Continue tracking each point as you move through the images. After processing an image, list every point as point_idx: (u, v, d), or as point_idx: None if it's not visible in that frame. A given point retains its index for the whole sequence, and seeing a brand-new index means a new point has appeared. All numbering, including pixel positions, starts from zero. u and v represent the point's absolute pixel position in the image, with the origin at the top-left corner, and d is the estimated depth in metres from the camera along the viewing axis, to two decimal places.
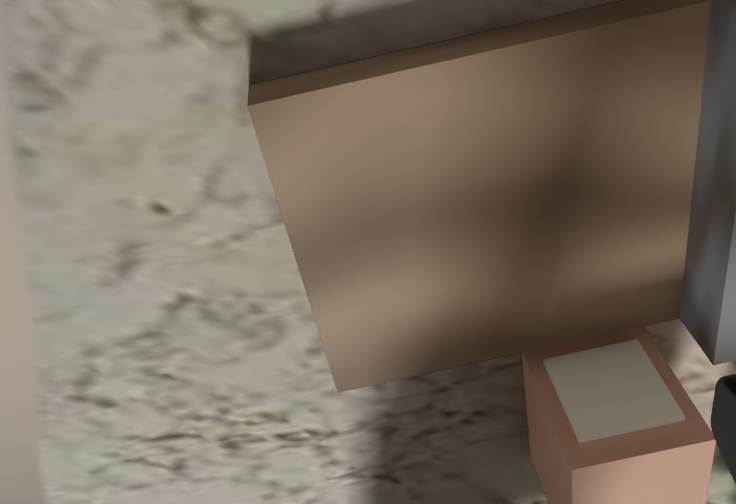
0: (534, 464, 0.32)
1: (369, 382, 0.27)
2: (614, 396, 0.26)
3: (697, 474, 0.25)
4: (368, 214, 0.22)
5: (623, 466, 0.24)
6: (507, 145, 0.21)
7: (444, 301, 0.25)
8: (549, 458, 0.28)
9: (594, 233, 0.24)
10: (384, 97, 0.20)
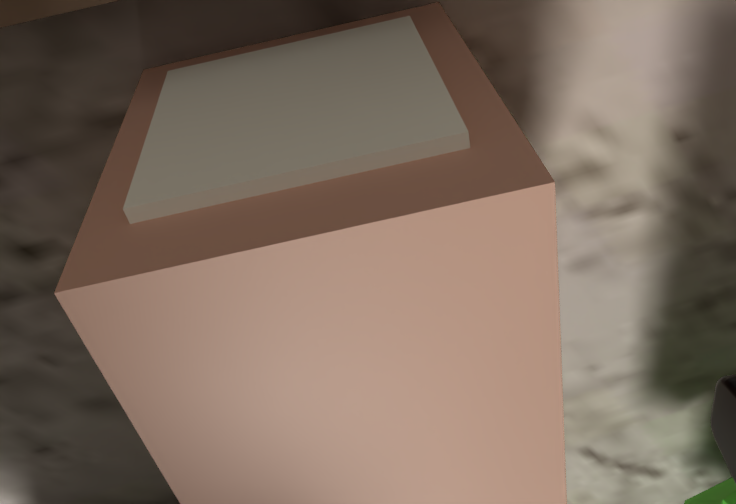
0: None
1: None
2: (290, 112, 0.09)
3: (517, 328, 0.08)
4: None
5: (244, 285, 0.07)
6: None
7: None
8: None
9: None
10: None
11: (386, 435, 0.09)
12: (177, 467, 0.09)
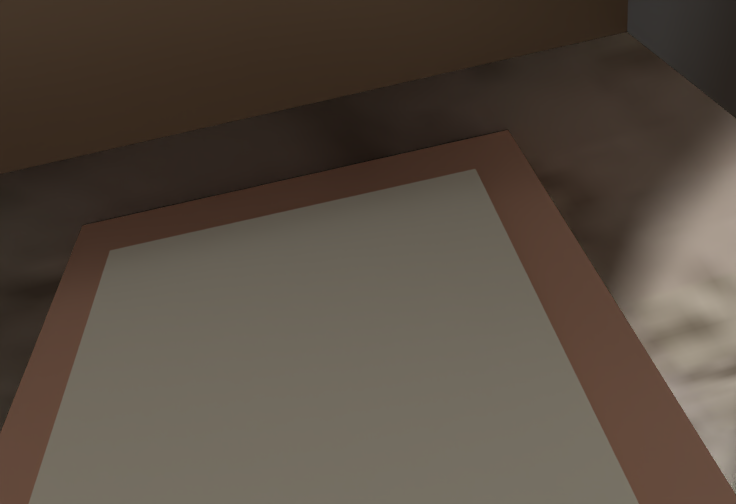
0: None
1: None
2: (297, 393, 0.05)
3: None
4: None
5: None
6: None
7: None
8: None
9: None
10: None
11: None
12: None
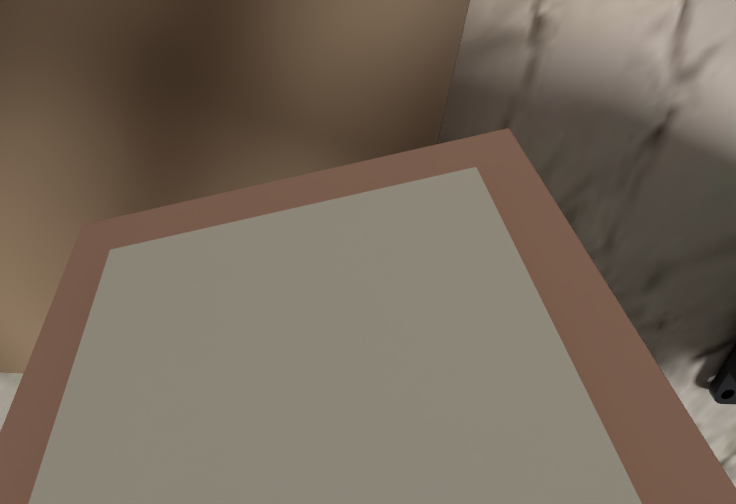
0: None
1: None
2: (297, 392, 0.05)
3: None
4: None
5: None
6: (67, 159, 0.17)
7: None
8: None
9: (244, 70, 0.16)
10: None
11: None
12: None
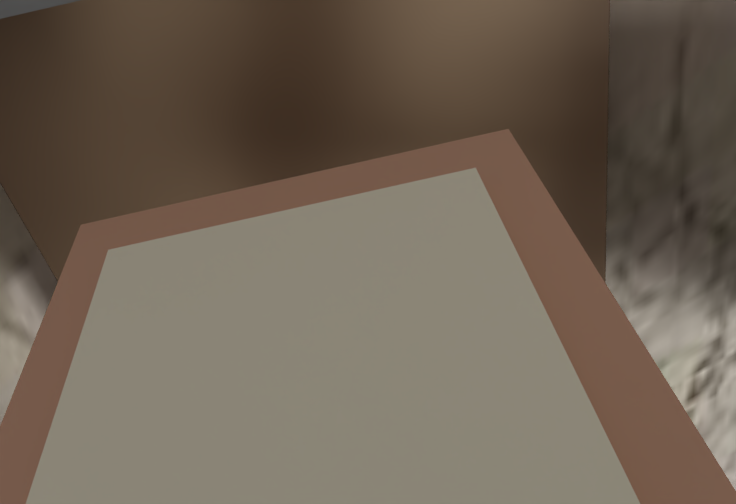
0: None
1: None
2: (296, 393, 0.05)
3: None
4: None
5: None
6: None
7: None
8: None
9: (358, 93, 0.13)
10: None
11: None
12: None
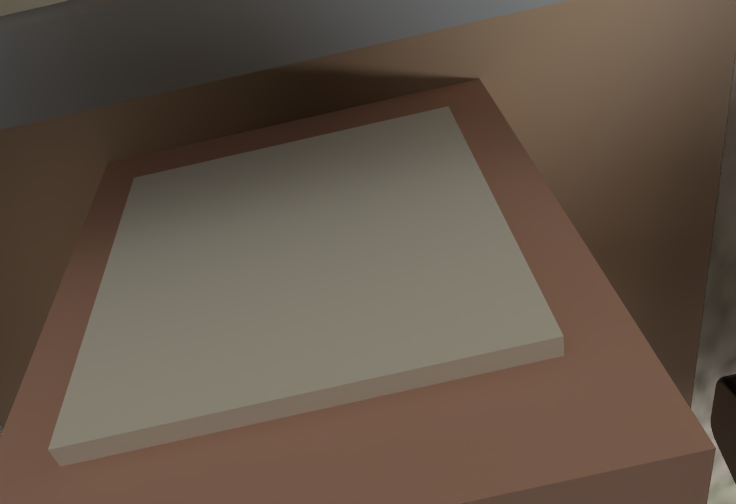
0: None
1: None
2: (295, 269, 0.06)
3: None
4: None
5: None
6: None
7: None
8: None
9: None
10: None
11: None
12: None
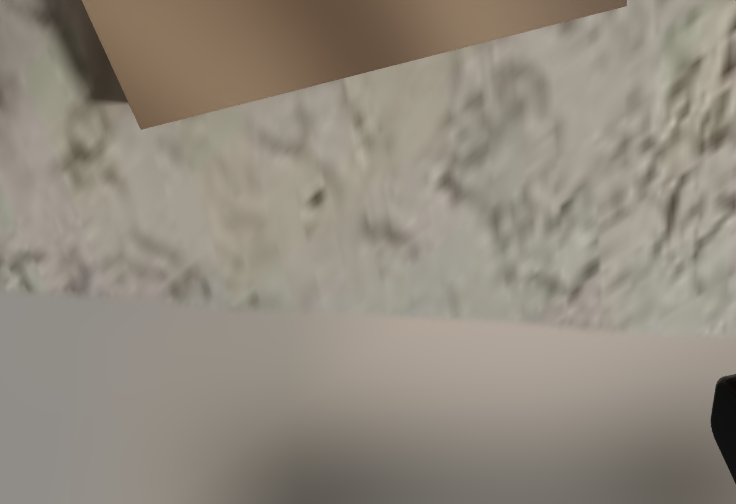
0: None
1: None
2: None
3: None
4: None
5: None
6: None
7: None
8: None
9: None
10: None
11: None
12: None
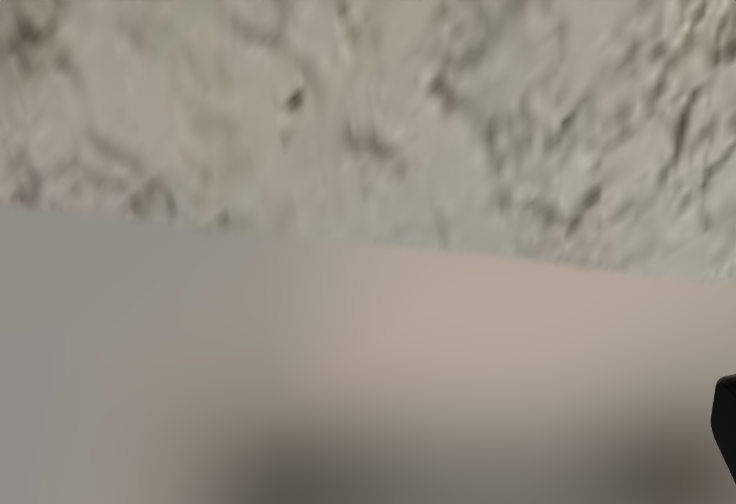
0: None
1: None
2: None
3: None
4: None
5: None
6: None
7: None
8: None
9: None
10: None
11: None
12: None
